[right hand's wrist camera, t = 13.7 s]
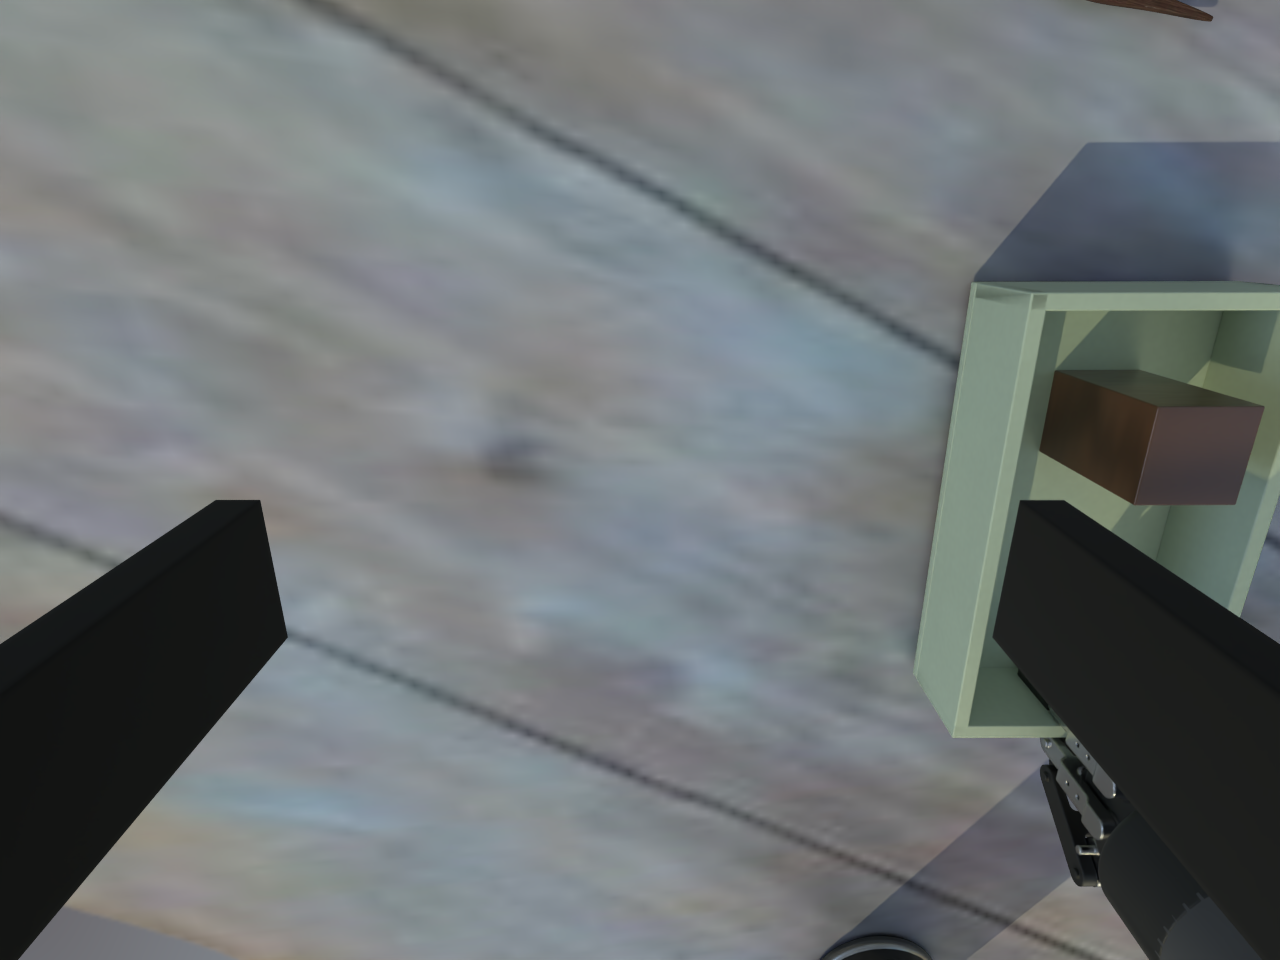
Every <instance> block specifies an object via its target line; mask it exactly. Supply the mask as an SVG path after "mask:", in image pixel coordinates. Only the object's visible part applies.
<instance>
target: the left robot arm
mask: <svg viewBox="0 0 1280 960" xmlns="http://www.w3.org/2000/svg"><path fill="white" fill-rule="evenodd" d="M1017 674H1018V676H1019V677H1020V679H1021V680H1022V681H1023V682H1024V683H1025V685H1026V686H1027V687H1028V688H1029V689H1030V691H1031V692H1032V693H1033V694H1034V695H1035V697H1036V698H1037V699H1038V700H1039V701H1040V703H1041V704H1042V705H1043V706H1044V707H1045V708H1046V710H1050V713H1051V715H1052V716H1053V717H1054V718H1055V720H1056V721H1057V722H1058V723H1059V724H1060V725H1061V727H1062V728H1063V729H1064V730H1065V731H1066V733H1067V736H1066V737H1047V738H1040V742H1041V746H1042V749H1043V751H1044V752H1045V753H1046V755H1047V756H1048V757H1049V765H1042V766H1041V768H1040V776H1041V780H1042V783H1043V786H1044V789H1045V793H1046V796H1047V799H1048V802H1049V806H1050V809H1051V812H1052V815H1053V818H1054V822H1055V825H1056V828H1057V831H1058V834H1059V838H1060V841H1061V844H1062V847H1063V851H1064V854H1065V857H1066V860H1067V863H1068V867H1069V870H1070V873H1071V876H1072V879H1073V880H1074V882H1075V883H1076V884H1077V885H1078V886H1093V887H1102V890H1103V892H1104V894H1105V896H1106V897H1107V899H1108V900H1109V902H1110V903H1111V905H1112V906H1113V908H1114V909H1115V911H1116V912H1117V913H1118V915H1119V916H1120V918H1121V919H1122V921H1123V922H1124V924H1125V925H1126V927H1127V928H1128V929H1129V931H1130V932H1131V934H1132V935H1133V937H1134V938H1135V940H1136V941H1137V943H1138V944H1139V945H1140V947H1141V948H1142V950H1143V951H1144V953H1145V954H1146V956H1147V957H1148V958H1149V960H1262V959H1261V958H1260V957H1259V956H1258V954H1257V953H1256V952H1255V951H1254V950H1253V948H1252V947H1251V946H1250V945H1249V944H1248V942H1247V941H1246V940H1245V939H1244V938H1243V936H1242V935H1241V934H1240V933H1239V932H1238V930H1237V929H1236V928H1235V927H1234V926H1233V924H1232V923H1231V922H1230V921H1229V920H1228V918H1227V917H1226V916H1225V915H1224V914H1223V912H1222V911H1221V910H1220V909H1219V908H1218V907H1217V905H1216V904H1215V903H1214V902H1213V901H1212V899H1211V898H1210V897H1209V896H1208V895H1207V893H1206V892H1205V891H1204V890H1203V889H1202V887H1201V886H1200V885H1199V884H1198V883H1197V881H1196V880H1195V879H1194V878H1193V877H1192V875H1191V874H1190V873H1189V872H1188V871H1187V869H1186V868H1185V867H1184V866H1183V865H1182V863H1181V862H1180V861H1179V860H1178V859H1177V858H1176V856H1175V855H1174V854H1173V853H1172V852H1171V850H1170V849H1169V848H1168V847H1167V846H1166V844H1165V843H1164V842H1163V841H1162V840H1161V838H1160V837H1159V836H1158V835H1157V834H1156V832H1155V831H1154V830H1153V829H1152V828H1151V826H1150V825H1149V824H1148V823H1147V822H1146V820H1145V819H1144V818H1143V817H1142V816H1141V814H1140V813H1139V812H1138V811H1137V810H1136V809H1135V807H1134V806H1133V805H1132V804H1131V803H1130V801H1129V800H1128V799H1127V798H1126V797H1125V795H1124V794H1123V793H1122V792H1121V791H1120V789H1119V788H1118V787H1117V786H1116V785H1115V783H1114V782H1113V781H1112V780H1111V779H1110V777H1109V776H1108V775H1107V774H1106V773H1105V771H1104V770H1103V769H1102V768H1101V767H1100V765H1099V764H1098V763H1097V762H1096V761H1095V760H1094V758H1093V757H1092V756H1091V755H1090V754H1089V752H1088V751H1087V750H1086V749H1085V748H1084V746H1083V745H1082V744H1081V743H1080V742H1079V740H1078V739H1077V738H1076V737H1075V736H1074V734H1073V733H1072V732H1071V731H1070V730H1069V728H1068V727H1067V726H1066V725H1065V724H1064V722H1063V721H1062V720H1061V719H1060V718H1059V717H1058V715H1057V714H1056V713H1055V712H1054V711H1053V709H1052V708H1051V707H1050V706H1049V705H1048V703H1047V702H1046V701H1045V700H1044V699H1043V697H1042V696H1041V695H1040V694H1039V693H1038V691H1037V690H1036V689H1035V688H1034V687H1033V685H1032V684H1031V683H1030V682H1029V681H1028V679H1027V678H1026V677H1025V676H1024V675H1023V673H1022V672H1021V671H1020V670H1019V669H1018V673H1017ZM1066 794H1067V796H1068V797H1069V799H1070V800H1071V801H1072V803H1073V804H1074V805H1075V807H1076V808H1077V810H1078V811H1075V810H1073V809H1072V808H1071V807H1070V805H1069V802H1068V799H1067V796H1066ZM1085 837H1087V838H1085ZM822 960H932V959H931V957H930V956H929V955H928V953H927V952H926V951H925V950H923V949H922V948H921V947H919V946H918V945H916V944H914V943H912V942H910V941H907V940H904V939H901V938H896V937H890V936H872V937H864V938H860V939H856V940H853V941H850V942H847V943H845V944H843V945H841V946H839V947H837V948H835V949H834V950H832V951H831V952H830V953H828V954H827V955H826V956H825V957H824V958H823V959H822Z"/></svg>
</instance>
